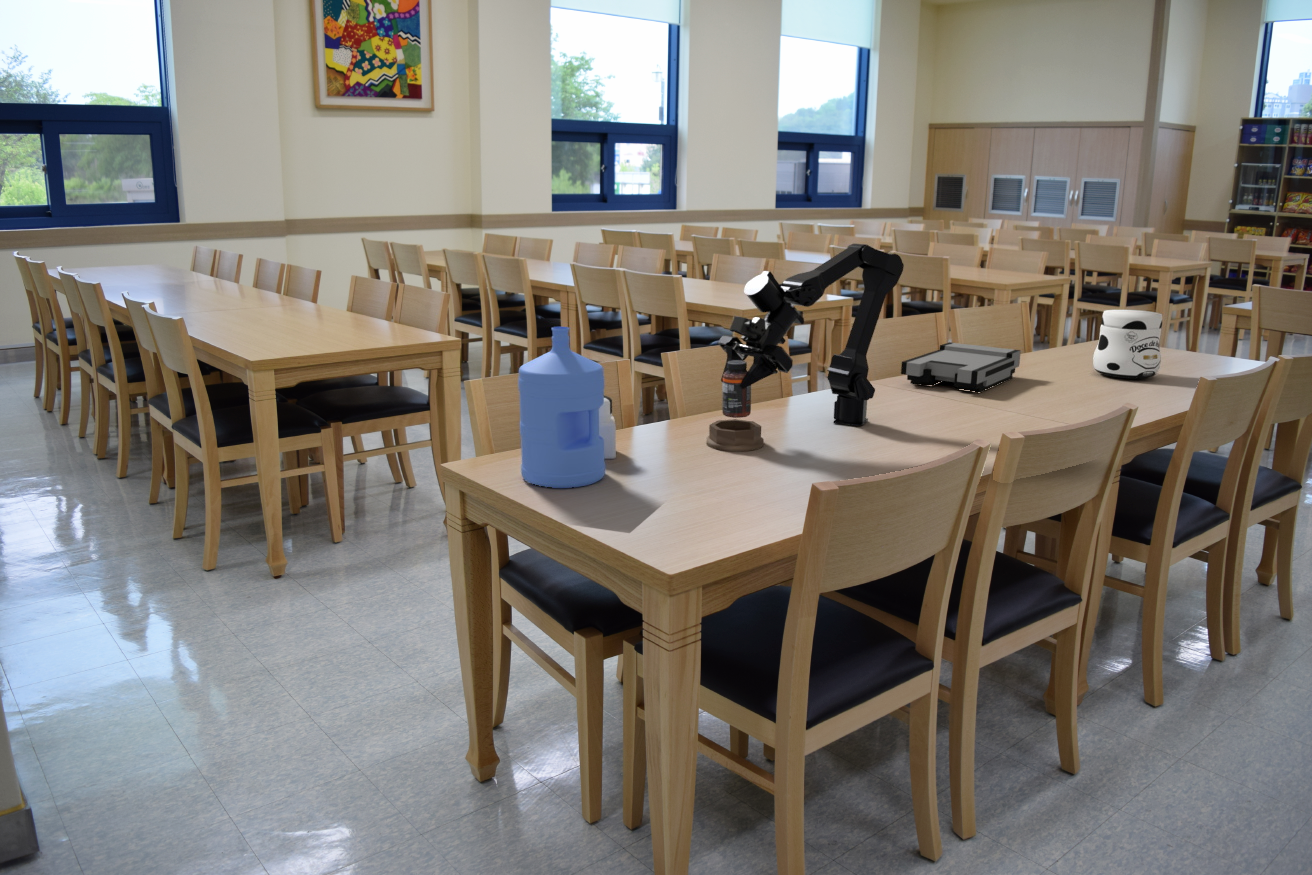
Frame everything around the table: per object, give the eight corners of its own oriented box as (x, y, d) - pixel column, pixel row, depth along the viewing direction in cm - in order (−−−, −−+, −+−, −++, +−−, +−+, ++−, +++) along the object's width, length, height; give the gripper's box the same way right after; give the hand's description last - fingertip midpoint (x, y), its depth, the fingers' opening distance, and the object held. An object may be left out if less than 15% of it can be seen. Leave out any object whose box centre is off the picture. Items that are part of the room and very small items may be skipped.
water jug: (505, 484, 177) (500, 331, 170) (545, 461, 191) (541, 319, 184) (583, 494, 172) (581, 337, 164) (618, 470, 186) (617, 324, 178)
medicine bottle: (579, 450, 199) (578, 393, 196) (614, 449, 200) (614, 392, 197) (579, 459, 192) (578, 400, 189) (615, 459, 193) (615, 400, 190)
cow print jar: (1154, 384, 265) (1163, 319, 260) (1086, 377, 274) (1093, 314, 269) (1161, 374, 279) (1170, 312, 274) (1097, 368, 288) (1104, 307, 283)
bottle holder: (771, 440, 207) (772, 422, 206) (751, 454, 196) (751, 435, 195) (719, 433, 212) (720, 416, 211) (697, 447, 202) (697, 428, 201)
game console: (899, 387, 262) (902, 357, 259) (946, 369, 286) (949, 342, 284) (975, 398, 249) (978, 366, 247) (1017, 379, 273) (1020, 350, 271)
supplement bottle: (748, 411, 206) (750, 359, 203) (752, 418, 200) (753, 364, 197) (720, 411, 206) (721, 359, 202) (723, 418, 200) (724, 364, 197)
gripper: (725, 297, 206) (683, 354, 203) (783, 306, 191) (738, 368, 188) (753, 330, 212) (712, 386, 209) (811, 342, 198) (769, 402, 195)
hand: (731, 384), depth 200 cm, fingers closed on supplement bottle, 6 cm apart
